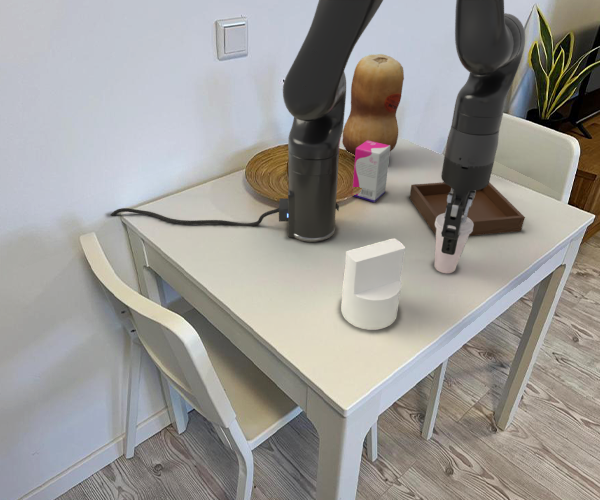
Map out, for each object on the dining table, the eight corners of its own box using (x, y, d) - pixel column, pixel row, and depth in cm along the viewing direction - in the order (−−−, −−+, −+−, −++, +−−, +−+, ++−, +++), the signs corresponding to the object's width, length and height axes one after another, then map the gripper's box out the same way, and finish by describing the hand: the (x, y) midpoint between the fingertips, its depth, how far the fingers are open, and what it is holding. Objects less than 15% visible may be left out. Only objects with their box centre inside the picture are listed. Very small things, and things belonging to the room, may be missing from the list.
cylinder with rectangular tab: (359, 336, 78) (365, 274, 71) (331, 301, 84) (334, 241, 78) (408, 319, 81) (418, 258, 74) (377, 287, 88) (384, 228, 81)
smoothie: (463, 280, 89) (481, 211, 81) (426, 275, 91) (439, 206, 82) (462, 259, 95) (478, 192, 87) (426, 254, 96) (439, 188, 88)
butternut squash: (369, 175, 122) (379, 68, 108) (330, 157, 131) (335, 55, 116) (406, 159, 130) (421, 57, 116) (368, 143, 138) (376, 46, 124)
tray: (437, 238, 100) (440, 224, 98) (409, 197, 114) (411, 184, 112) (520, 231, 103) (525, 217, 101) (483, 192, 116) (486, 179, 114)
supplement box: (386, 192, 115) (391, 144, 109) (374, 203, 111) (379, 154, 105) (363, 185, 118) (367, 138, 111) (351, 196, 114) (354, 148, 107)
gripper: (454, 134, 87) (440, 216, 96) (435, 168, 76) (421, 256, 85) (500, 141, 84) (481, 225, 93) (488, 177, 74) (467, 267, 83)
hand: (452, 240), depth 89 cm, fingers open, 8 cm apart
